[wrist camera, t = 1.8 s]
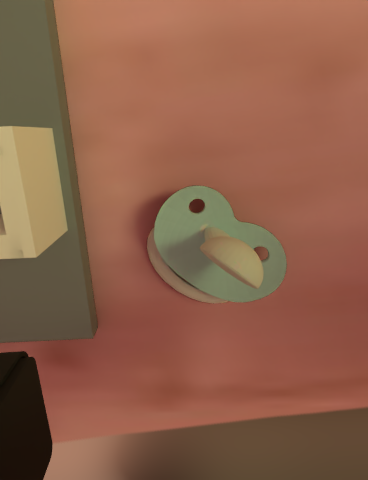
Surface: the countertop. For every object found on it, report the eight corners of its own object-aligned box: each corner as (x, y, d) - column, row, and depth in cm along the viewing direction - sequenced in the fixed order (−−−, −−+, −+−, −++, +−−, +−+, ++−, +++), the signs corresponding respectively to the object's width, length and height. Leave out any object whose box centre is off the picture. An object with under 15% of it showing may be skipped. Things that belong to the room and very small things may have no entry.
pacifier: (223, 316, 21) (289, 244, 19) (238, 394, 15) (337, 297, 13) (124, 250, 19) (187, 165, 18) (97, 305, 13) (189, 185, 12)
